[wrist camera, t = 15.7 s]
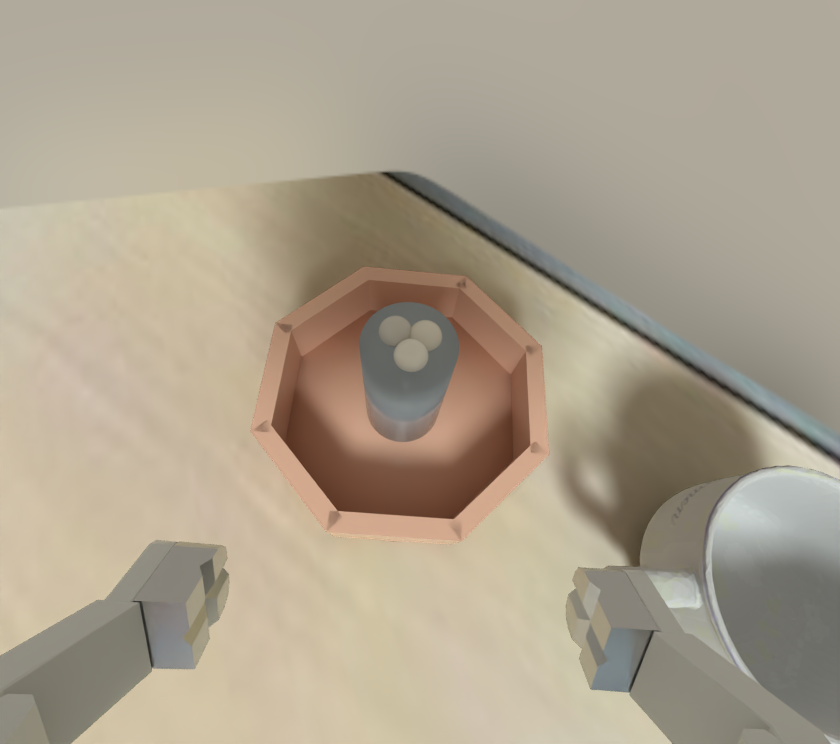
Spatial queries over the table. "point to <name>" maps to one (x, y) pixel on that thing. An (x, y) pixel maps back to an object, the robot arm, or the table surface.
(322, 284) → the table surface
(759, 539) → the teacup
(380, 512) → the terracotta bowl
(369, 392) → the pebble cup
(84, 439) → the table surface
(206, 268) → the table surface
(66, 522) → the table surface
